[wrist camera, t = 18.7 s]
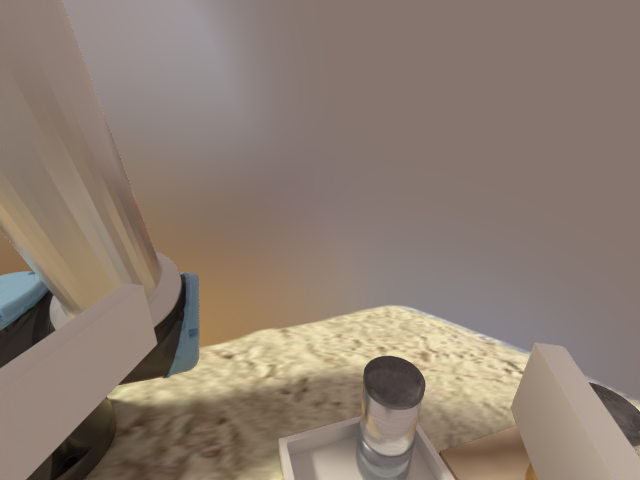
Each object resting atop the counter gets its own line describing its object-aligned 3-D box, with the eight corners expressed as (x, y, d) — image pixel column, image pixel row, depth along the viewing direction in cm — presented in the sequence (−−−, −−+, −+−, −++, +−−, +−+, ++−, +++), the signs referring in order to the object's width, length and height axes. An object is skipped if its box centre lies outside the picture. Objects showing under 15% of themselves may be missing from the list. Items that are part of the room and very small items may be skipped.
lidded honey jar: (509, 478, 37) (545, 388, 31) (550, 461, 39) (591, 374, 33) (562, 544, 31) (617, 450, 26) (607, 521, 33) (667, 429, 28)
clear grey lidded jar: (347, 447, 40) (353, 362, 35) (391, 433, 42) (404, 350, 37) (369, 501, 35) (380, 411, 29) (419, 483, 37) (439, 395, 31)
